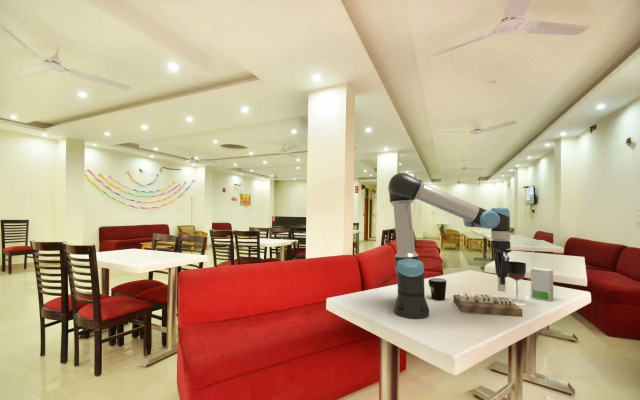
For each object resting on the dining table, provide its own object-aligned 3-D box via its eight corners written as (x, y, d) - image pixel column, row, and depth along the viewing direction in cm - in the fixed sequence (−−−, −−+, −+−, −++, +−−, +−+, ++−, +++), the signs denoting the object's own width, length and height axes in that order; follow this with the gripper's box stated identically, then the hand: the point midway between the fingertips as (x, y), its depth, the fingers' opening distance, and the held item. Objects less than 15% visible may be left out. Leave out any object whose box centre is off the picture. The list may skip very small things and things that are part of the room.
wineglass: (515, 300, 147) (513, 261, 148) (532, 305, 139) (530, 263, 140) (503, 301, 144) (501, 261, 146) (520, 306, 136) (518, 264, 137)
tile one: (460, 301, 134) (460, 295, 135) (457, 297, 140) (457, 292, 140) (474, 302, 133) (474, 296, 133) (471, 298, 139) (471, 293, 139)
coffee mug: (449, 301, 145) (448, 281, 146) (431, 300, 147) (430, 281, 148) (443, 295, 157) (443, 277, 157) (427, 294, 158) (426, 276, 159)
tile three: (498, 305, 130) (498, 299, 130) (494, 301, 136) (494, 296, 136) (513, 306, 129) (513, 300, 129) (508, 302, 135) (508, 297, 135)
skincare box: (531, 298, 150) (529, 268, 151) (535, 296, 154) (533, 267, 155) (550, 301, 144) (549, 270, 145) (554, 299, 148) (553, 269, 149)
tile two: (479, 302, 132) (479, 296, 133) (475, 298, 138) (475, 293, 138) (493, 303, 131) (493, 297, 131) (489, 299, 137) (489, 294, 137)
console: (461, 312, 129) (461, 305, 129) (453, 301, 146) (453, 294, 146) (522, 316, 123) (521, 309, 123) (506, 304, 140) (506, 297, 140)
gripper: (515, 241, 127) (516, 295, 126) (504, 239, 140) (505, 288, 138) (496, 241, 129) (497, 293, 128) (487, 238, 142) (488, 287, 140)
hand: (501, 290), depth 133 cm, fingers closed
